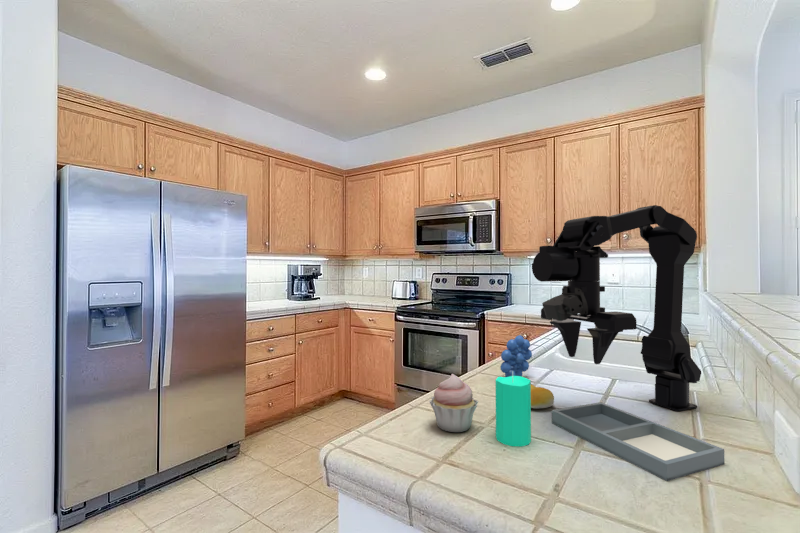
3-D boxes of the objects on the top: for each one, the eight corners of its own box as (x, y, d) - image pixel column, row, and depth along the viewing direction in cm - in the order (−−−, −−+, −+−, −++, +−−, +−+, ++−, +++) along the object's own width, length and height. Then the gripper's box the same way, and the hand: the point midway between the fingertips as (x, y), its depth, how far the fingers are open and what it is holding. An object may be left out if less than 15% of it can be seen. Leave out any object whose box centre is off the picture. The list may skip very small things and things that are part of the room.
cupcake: (457, 413, 80) (457, 365, 80) (488, 429, 72) (488, 376, 72) (419, 422, 76) (419, 371, 76) (448, 440, 67) (448, 383, 68)
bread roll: (542, 412, 79) (540, 392, 79) (505, 402, 86) (505, 384, 86) (562, 403, 84) (561, 384, 84) (527, 394, 91) (526, 377, 91)
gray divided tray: (600, 414, 80) (600, 402, 80) (724, 465, 59) (724, 449, 59) (551, 423, 75) (551, 410, 75) (667, 482, 54) (667, 464, 54)
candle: (531, 434, 70) (530, 368, 70) (530, 448, 64) (530, 377, 64) (497, 429, 72) (496, 365, 72) (494, 443, 66) (493, 374, 66)
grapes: (518, 372, 112) (518, 331, 112) (537, 378, 106) (537, 334, 106) (489, 379, 105) (489, 335, 105) (508, 385, 100) (508, 339, 100)
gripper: (519, 280, 82) (520, 353, 82) (589, 283, 64) (589, 376, 64) (561, 279, 86) (562, 349, 85) (638, 282, 68) (639, 370, 68)
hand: (584, 360), depth 76 cm, fingers open, 6 cm apart
